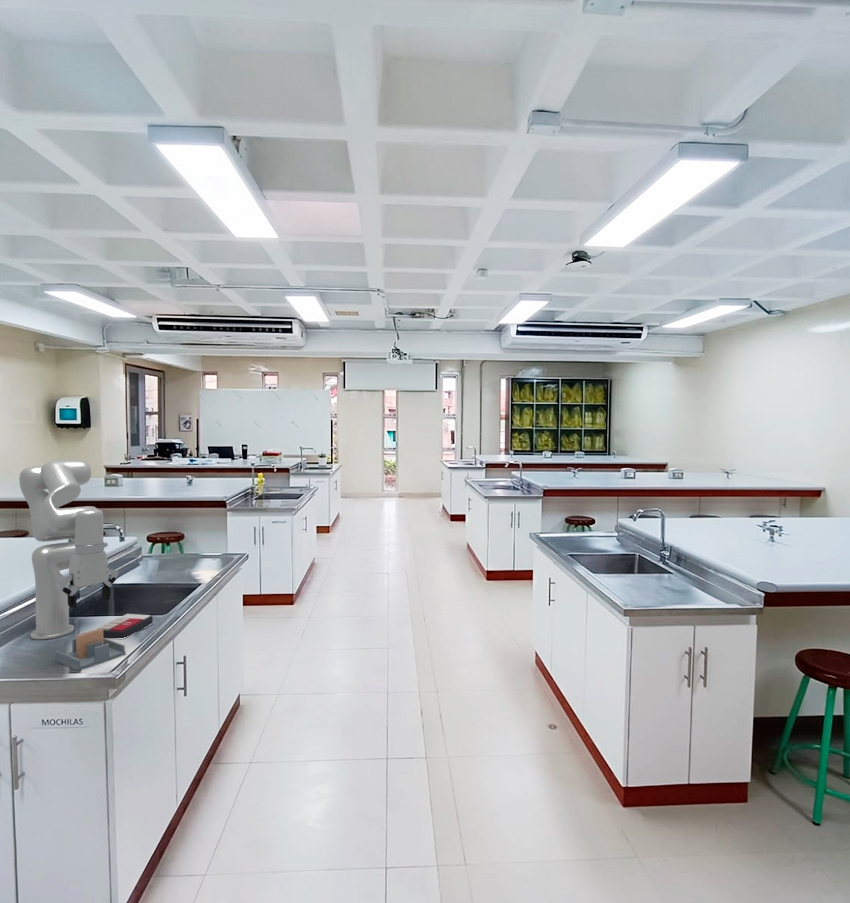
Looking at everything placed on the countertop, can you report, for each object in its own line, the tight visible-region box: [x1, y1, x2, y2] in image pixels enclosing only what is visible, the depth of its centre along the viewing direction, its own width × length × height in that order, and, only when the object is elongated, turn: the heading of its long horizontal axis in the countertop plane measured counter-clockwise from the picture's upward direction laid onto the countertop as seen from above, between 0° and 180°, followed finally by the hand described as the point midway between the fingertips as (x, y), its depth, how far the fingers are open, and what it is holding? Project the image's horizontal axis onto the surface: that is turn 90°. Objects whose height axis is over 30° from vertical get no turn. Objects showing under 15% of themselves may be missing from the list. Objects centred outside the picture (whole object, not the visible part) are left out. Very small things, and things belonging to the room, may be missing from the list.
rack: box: [54, 638, 127, 672], centre depth 162 cm, size 14×14×5 cm
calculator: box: [97, 613, 154, 639], centre depth 186 cm, size 11×4×15 cm
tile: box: [75, 627, 103, 659], centre depth 162 cm, size 2×7×7 cm, turn 149°
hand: (89, 603), depth 162 cm, fingers open, 9 cm apart
